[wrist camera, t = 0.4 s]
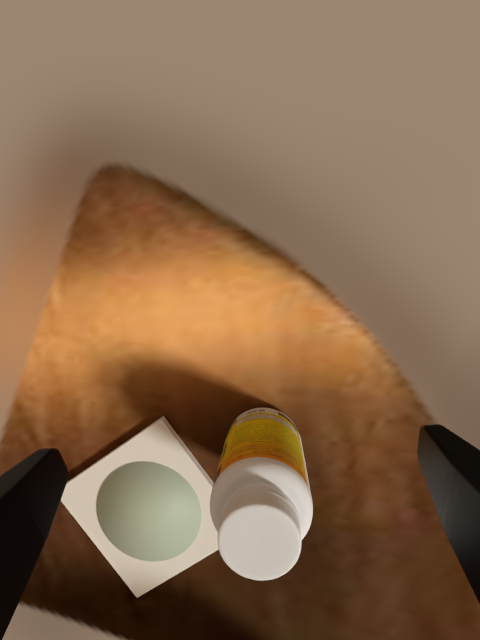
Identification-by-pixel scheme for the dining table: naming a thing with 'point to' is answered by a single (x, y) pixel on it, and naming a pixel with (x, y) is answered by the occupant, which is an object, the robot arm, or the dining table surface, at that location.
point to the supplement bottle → (261, 495)
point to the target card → (146, 507)
